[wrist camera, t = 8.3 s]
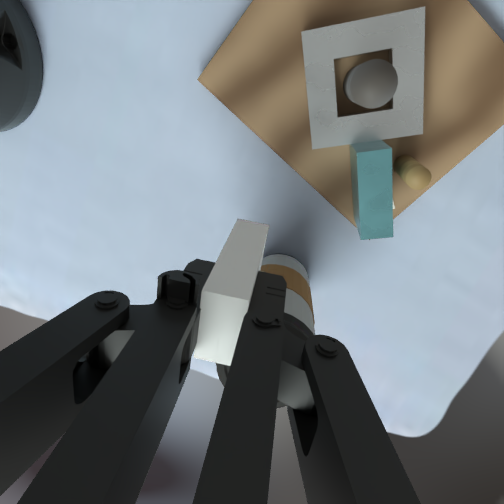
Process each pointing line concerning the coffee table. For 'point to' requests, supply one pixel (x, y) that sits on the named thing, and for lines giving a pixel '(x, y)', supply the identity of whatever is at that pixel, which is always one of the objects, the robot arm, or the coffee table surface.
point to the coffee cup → (288, 301)
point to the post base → (283, 91)
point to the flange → (370, 122)
